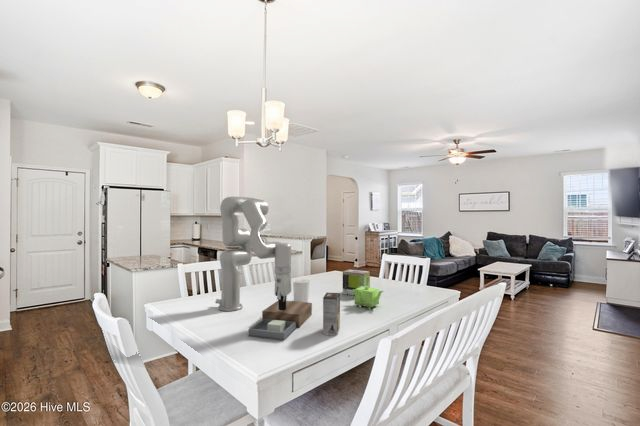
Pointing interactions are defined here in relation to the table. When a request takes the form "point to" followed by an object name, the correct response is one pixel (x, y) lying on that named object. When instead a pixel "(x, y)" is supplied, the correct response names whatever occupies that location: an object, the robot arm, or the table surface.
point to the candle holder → (301, 290)
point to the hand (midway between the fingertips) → (282, 309)
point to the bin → (262, 332)
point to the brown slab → (289, 312)
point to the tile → (276, 325)
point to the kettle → (366, 296)
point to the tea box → (355, 280)
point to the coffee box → (331, 313)
